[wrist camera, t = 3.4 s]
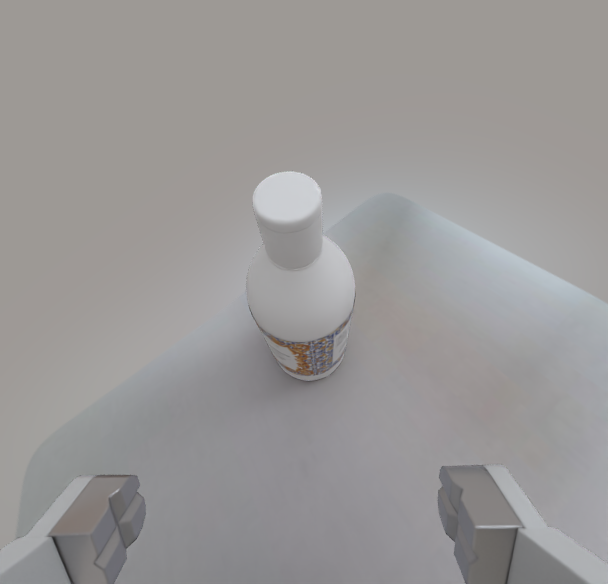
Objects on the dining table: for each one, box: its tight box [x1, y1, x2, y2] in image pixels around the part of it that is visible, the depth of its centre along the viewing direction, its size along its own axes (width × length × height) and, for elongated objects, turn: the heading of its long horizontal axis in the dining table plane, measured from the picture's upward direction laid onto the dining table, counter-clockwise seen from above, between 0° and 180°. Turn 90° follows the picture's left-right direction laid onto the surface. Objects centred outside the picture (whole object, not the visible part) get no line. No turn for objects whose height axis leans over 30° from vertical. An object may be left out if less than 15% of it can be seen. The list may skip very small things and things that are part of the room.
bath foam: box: [246, 172, 355, 381], centre depth 22 cm, size 7×7×20 cm
